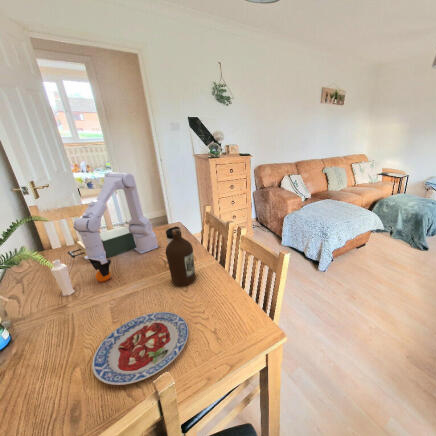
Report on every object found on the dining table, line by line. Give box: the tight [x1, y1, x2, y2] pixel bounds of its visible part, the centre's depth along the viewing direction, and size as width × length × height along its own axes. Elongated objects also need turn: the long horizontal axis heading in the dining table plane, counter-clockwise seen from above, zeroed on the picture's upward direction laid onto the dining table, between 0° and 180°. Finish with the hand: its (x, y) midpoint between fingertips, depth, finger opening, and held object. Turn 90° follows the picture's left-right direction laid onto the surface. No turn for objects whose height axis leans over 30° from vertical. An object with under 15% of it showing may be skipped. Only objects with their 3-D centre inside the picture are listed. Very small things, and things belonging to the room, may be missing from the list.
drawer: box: [67, 240, 107, 263], centre depth 119 cm, size 17×10×8 cm, turn 145°
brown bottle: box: [165, 228, 196, 288], centre depth 102 cm, size 11×11×25 cm
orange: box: [95, 270, 112, 283], centre depth 104 cm, size 5×5×5 cm
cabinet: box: [99, 226, 137, 259], centre depth 127 cm, size 14×12×10 cm
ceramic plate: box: [91, 311, 189, 386], centre depth 75 cm, size 26×26×3 cm
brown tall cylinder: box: [165, 226, 182, 245], centre depth 113 cm, size 6×7×20 cm
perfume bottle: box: [50, 259, 76, 297], centre depth 94 cm, size 5×4×15 cm
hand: (102, 272), depth 103 cm, fingers open, 7 cm apart
